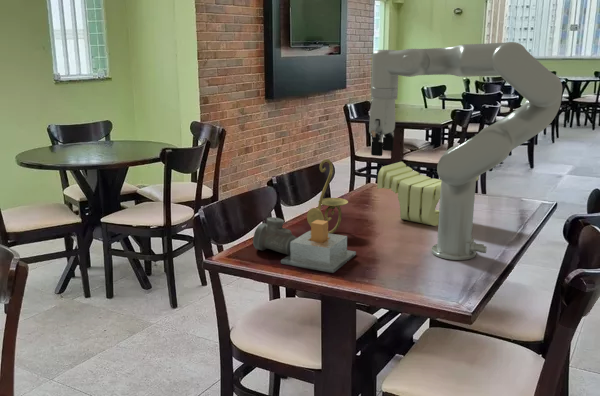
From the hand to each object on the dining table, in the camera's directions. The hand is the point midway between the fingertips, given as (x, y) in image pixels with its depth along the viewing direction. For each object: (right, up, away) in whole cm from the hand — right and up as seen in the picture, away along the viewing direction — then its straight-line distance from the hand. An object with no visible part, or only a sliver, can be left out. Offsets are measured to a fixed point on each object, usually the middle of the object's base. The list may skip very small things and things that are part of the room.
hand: (382, 153), depth 171 cm
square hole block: (-19, -31, -5) cm, 36 cm away
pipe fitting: (-31, -29, +1) cm, 43 cm away
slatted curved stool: (+20, -21, +33) cm, 44 cm away
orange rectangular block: (-19, -30, -6) cm, 36 cm away
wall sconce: (-15, -25, +17) cm, 34 cm away
